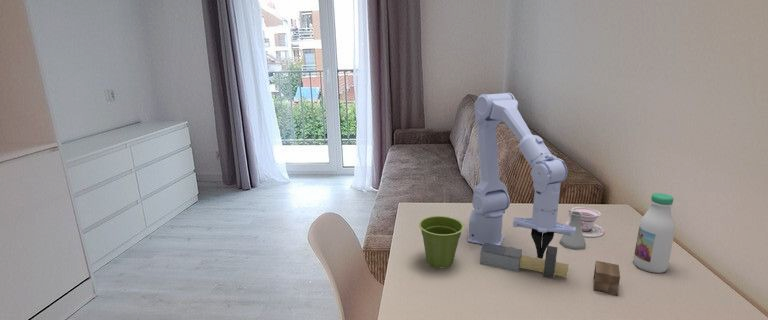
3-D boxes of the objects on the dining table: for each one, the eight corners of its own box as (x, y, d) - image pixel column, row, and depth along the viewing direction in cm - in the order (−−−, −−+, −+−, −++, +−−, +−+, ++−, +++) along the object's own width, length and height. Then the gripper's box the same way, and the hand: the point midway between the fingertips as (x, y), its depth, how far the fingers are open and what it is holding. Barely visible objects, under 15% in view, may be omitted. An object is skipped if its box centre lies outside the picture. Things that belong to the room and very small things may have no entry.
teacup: (606, 227, 133) (609, 209, 132) (601, 241, 124) (604, 222, 122) (566, 219, 140) (568, 202, 138) (559, 232, 130) (561, 214, 128)
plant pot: (413, 269, 109) (413, 230, 106) (424, 249, 119) (425, 213, 116) (457, 277, 105) (459, 237, 102) (465, 256, 115) (467, 219, 112)
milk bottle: (662, 261, 112) (675, 192, 106) (671, 276, 105) (685, 202, 99) (630, 257, 114) (641, 189, 109) (636, 271, 107) (649, 199, 102)
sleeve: (479, 264, 111) (480, 249, 110) (483, 256, 115) (484, 242, 114) (518, 272, 107) (519, 257, 106) (520, 264, 111) (522, 249, 109)
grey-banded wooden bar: (483, 263, 111) (485, 241, 109) (487, 256, 114) (488, 234, 113) (566, 281, 102) (569, 257, 100) (567, 273, 106) (570, 249, 104)
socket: (593, 290, 99) (596, 272, 97) (593, 278, 104) (595, 260, 103) (617, 295, 97) (620, 277, 95) (615, 283, 102) (618, 264, 100)
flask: (589, 251, 118) (593, 218, 115) (562, 249, 119) (565, 217, 116) (582, 239, 125) (586, 208, 122) (557, 237, 126) (560, 207, 123)
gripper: (512, 208, 101) (508, 257, 105) (577, 218, 95) (570, 270, 99) (517, 198, 108) (513, 245, 111) (578, 207, 101) (571, 257, 105)
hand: (540, 256), depth 105 cm, fingers closed
